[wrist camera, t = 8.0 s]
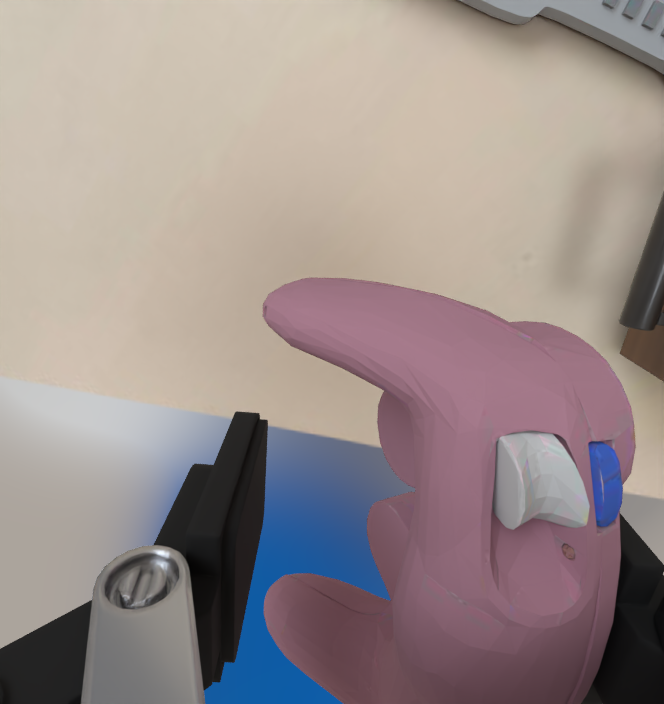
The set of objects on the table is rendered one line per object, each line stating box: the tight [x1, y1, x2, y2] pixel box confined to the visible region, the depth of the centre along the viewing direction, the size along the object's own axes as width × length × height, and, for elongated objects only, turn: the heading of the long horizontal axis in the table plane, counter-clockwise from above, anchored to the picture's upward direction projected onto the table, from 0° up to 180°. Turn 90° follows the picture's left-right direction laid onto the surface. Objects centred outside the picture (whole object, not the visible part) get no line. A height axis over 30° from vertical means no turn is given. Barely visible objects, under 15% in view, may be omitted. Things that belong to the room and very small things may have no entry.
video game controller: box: [263, 278, 636, 704], centre depth 9 cm, size 10×5×7 cm, turn 177°
